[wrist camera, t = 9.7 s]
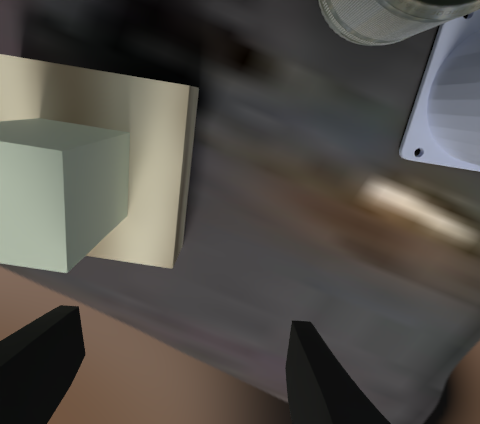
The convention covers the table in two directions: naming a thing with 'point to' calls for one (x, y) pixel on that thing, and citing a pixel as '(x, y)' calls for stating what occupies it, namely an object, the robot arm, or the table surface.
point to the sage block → (59, 190)
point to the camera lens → (390, 17)
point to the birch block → (141, 143)
